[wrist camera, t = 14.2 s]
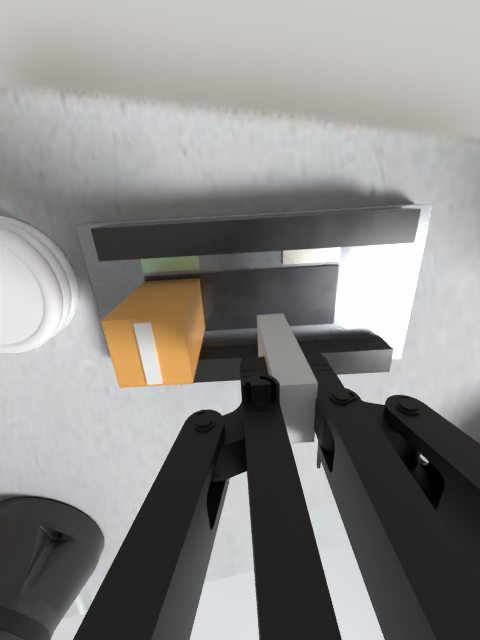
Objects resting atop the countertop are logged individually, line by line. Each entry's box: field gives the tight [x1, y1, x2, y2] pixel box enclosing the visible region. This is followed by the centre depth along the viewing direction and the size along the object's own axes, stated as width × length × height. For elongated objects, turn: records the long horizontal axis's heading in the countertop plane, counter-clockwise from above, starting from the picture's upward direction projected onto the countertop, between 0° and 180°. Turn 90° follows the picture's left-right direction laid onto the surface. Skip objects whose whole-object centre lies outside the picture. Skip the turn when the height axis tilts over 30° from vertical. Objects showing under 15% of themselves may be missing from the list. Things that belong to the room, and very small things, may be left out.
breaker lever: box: [101, 278, 205, 388], centre depth 17 cm, size 4×4×7 cm
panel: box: [75, 204, 433, 383], centre depth 21 cm, size 24×12×4 cm, turn 93°
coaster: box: [0, 216, 79, 353], centre depth 21 cm, size 10×10×4 cm
